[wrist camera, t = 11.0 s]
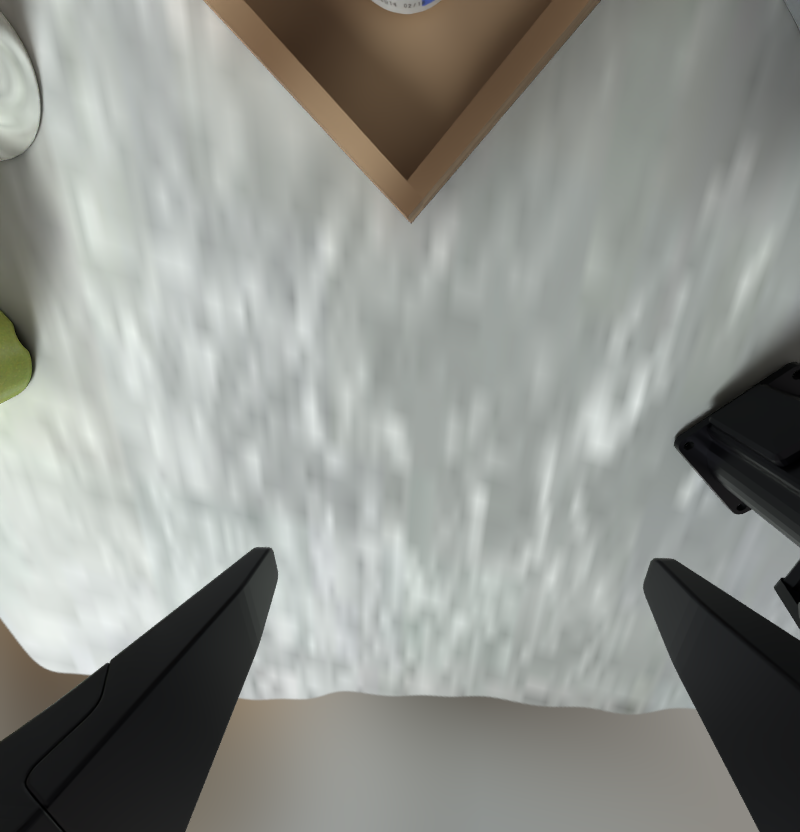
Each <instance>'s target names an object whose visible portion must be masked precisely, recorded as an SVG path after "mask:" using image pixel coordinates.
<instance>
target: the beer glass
mask: <svg viewBox="0 0 800 832" xmlns="http://www.w3.org/2000/svg"><path fill="white" fill-rule="evenodd" d="M40 112H41V103H40V93H39V87H38V83H37V79H36V75H35V72H34V69H33V66H32V63H31V61H30V58H29V56H28V54H27V51H26V49H25V47H24V45H23V43H22V42H21V40H20V38H19V36H18V35H17V33H16V32H15V30H14V29H13V27H12V26H11V24H10V23H9V22H8V20H7V19H6V18H5V17H4V15H3V14H2V13H1V12H0V161H3V160H9V159H12V158H15V157H17V156H19V155H20V154H22V153H23V152H24V151H25V150H26V149H27V148H28V147H29V146H30V145H31V143H32V142H33V140H34V138H35V136H36V133H37V130H38V126H39V122H40Z"/></svg>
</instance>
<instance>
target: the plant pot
mask: <svg viewBox="0 0 800 832" xmlns="http://www.w3.org/2000/svg"><path fill="white" fill-rule="evenodd" d="M31 372H32V363H31V357H30V354H29V351H28V350H27V349H26V348H24V347H23V346H22V344H21V343H20V342H19V340H18V338H17V336H16V334H15V330H14V326H13V324H12V322H11V321H10V320H9V319H8V318H7V317H6V316H5V315H4V314H3V313H2V312H1V311H0V404H1V403H3V402H5V401H7V400H9V399H11V398H12V397H14V396H16V395H18V394H19V393H21V392H22V391H23V390H24V389H25V388H26V387H27V385H28V383H29V381H30V378H31Z"/></svg>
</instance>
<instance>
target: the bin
mask: <svg viewBox="0 0 800 832" xmlns="http://www.w3.org/2000/svg"><path fill="white" fill-rule="evenodd" d="M784 1H785V3H786V5H787V7H788V9H789V11H790V13H791V15H792V17H793V18H794V20H795V22H796V24H797V26H798V28H799V30H800V0H784Z"/></svg>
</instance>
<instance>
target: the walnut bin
mask: <svg viewBox="0 0 800 832" xmlns="http://www.w3.org/2000/svg"><path fill="white" fill-rule="evenodd" d="M203 1H204V2H205V3H206V4H207V5H208V6H209V7H210V8H211V9H212V10H213V11H214V12H215V13H216V15H217V16H218V17H219V18H220V19H221V20H222V21H223V22H224V23H225V24H226V25H227V26H228V27H229V29H230V30H231V31H232V32H233V33H234V34H235V35H236V36H237V37H238V38H239V39H240V40H241V41H242V42H243V44H244V45H245V46H246V47H247V48H248V49H249V50H250V51H251V52H252V53H253V54H254V55H255V56H256V58H257V59H258V60H259V61H260V62H261V63H262V64H263V65H264V66H265V67H266V68H267V69H268V70H269V71H270V73H271V74H272V75H273V76H274V77H275V78H276V79H277V80H278V81H279V82H280V83H281V84H282V85H283V87H284V88H285V89H286V90H287V91H288V92H289V93H290V94H291V95H292V96H293V97H294V98H295V99H296V100H297V102H298V103H299V104H300V105H301V106H302V107H303V108H304V109H305V110H306V111H307V112H308V113H309V114H310V116H311V117H312V118H313V119H314V120H315V121H316V122H317V123H318V124H319V125H320V126H321V127H322V128H323V129H324V131H325V132H326V133H327V134H328V135H329V136H330V137H331V138H332V139H333V140H334V141H335V142H336V143H337V145H338V146H339V147H340V148H341V149H342V150H343V151H344V152H345V153H346V154H347V155H348V156H349V157H350V158H351V160H352V161H353V162H354V163H355V164H356V165H357V166H358V167H359V168H360V169H361V170H362V171H363V172H364V174H365V175H366V176H367V177H368V178H369V179H370V180H371V181H372V182H373V183H374V184H375V185H376V186H377V187H378V189H379V190H380V191H381V192H382V193H383V194H384V195H385V196H386V197H387V198H388V199H389V200H390V201H391V203H392V204H393V205H394V206H395V207H396V208H397V209H398V210H399V211H400V212H401V213H402V214H403V215H404V216H405V218H406V219H407V220H408V221H409V222H410V223H412V222H413V221H414V220H415V218H416V217H417V216H418V215H419V214H420V213H421V211H422V210H423V209H424V208H425V207H426V205H427V204H428V203H429V202H430V201H431V200H432V198H433V197H434V196H435V195H436V194H437V193H438V191H439V190H440V189H441V188H442V187H443V185H444V184H445V183H446V182H447V181H448V180H449V178H450V177H451V176H452V175H453V174H454V173H455V171H456V170H457V169H458V168H459V167H460V165H461V164H462V163H463V162H464V161H465V160H466V158H467V157H468V156H469V155H470V154H471V153H472V151H473V150H474V149H475V148H476V147H477V145H478V144H479V143H480V142H481V141H482V140H483V138H484V137H485V136H486V135H487V134H488V133H489V131H490V130H491V129H492V128H493V127H494V126H495V124H496V123H497V122H498V121H499V120H500V118H501V117H502V116H503V115H504V114H505V113H506V111H507V110H508V109H509V108H510V107H511V106H512V104H513V103H514V102H515V101H516V100H517V98H518V97H519V96H520V95H521V94H522V93H523V91H524V90H525V89H526V88H527V87H528V86H529V84H530V83H531V82H532V81H533V80H534V78H535V77H536V76H537V75H538V74H539V73H540V71H541V70H542V69H543V68H544V67H545V66H546V64H547V63H548V62H549V61H550V60H551V58H552V57H553V56H554V55H555V54H556V53H557V51H558V50H559V49H560V48H561V47H562V46H563V44H564V43H565V42H566V41H567V40H568V38H569V37H570V36H571V35H572V34H573V33H574V31H575V30H576V29H577V28H578V27H579V26H580V24H581V23H582V22H583V21H584V20H585V18H586V17H587V16H588V15H589V14H590V13H591V11H592V10H593V9H594V8H595V7H596V6H597V4H598V3H599V2H600V1H601V0H441V1H440V2H438V3H437V4H436V5H434V6H433V7H431V8H429V9H427V10H425V11H422V12H418V13H413V14H400V13H395V12H391V11H388V10H386V9H384V8H382V7H380V6H379V5H377V4H376V3H374V2H373V1H372V0H203Z"/></svg>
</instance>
